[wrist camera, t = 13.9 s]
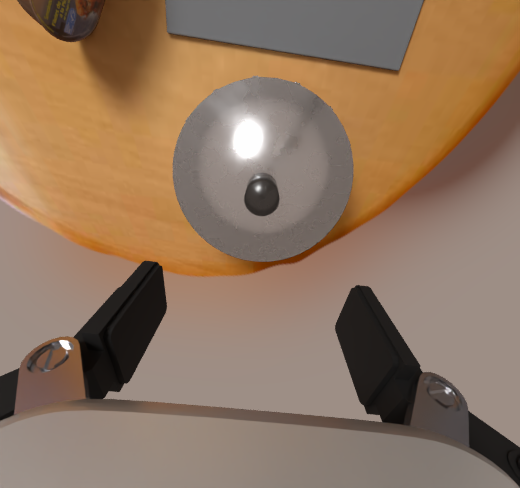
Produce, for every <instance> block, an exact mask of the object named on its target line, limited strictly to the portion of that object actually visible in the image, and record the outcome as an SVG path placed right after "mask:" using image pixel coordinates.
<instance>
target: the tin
mask: <svg viewBox="0 0 520 488" xmlns="http://www.w3.org/2000/svg"><path fill="white" fill-rule="evenodd" d="M17 1H18V2H19V4H20V5H21V6H22V7H23V9H24V10H25V11H26V12H27V13H28V14H29V15H30V16H31V17H32V18H33V19H35V20H36V21H37V22H38V23H39V24H40V25H42V26H43V27H44V28H45V30H47V31H48V32H49V33H50V34H51V35H52V36H54V37H55V38H57V39H59V40H62V41H66V42H76V41H80V40H82V39H84V38H86V37H87V36H89V35H90V34H91V32H92V31H93V30H94V29H95V27H96V25H97V23H98V20H99V18H100V14H101V11H102V8H103V5H104V1H105V0H17Z"/></svg>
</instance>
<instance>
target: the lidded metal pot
mask: <svg viewBox="0 0 520 488" xmlns="http://www.w3.org/2000/svg"><path fill="white" fill-rule="evenodd" d="M350 146H351V145H350V141H349V140H348V137H347V135H346V132H345V130H344V128H343V126H342V124H341V122H340V121H339V119H338V117H337V116H336V114H335V113H334V112H333V109H332V108H331V106H328V105H327V104H326V103H325V102H324V101H323V100H322V99H321V98H319V97H318V96H317V95H316V94H314V93H313V92H311V91H309V90H308V89H306V88H305V87H302V86H301V85H300V83H297V82H290V81H286V80H282V79H278V78H267V77H258V76H253V77H252V78H248V79H244V80H240V81H236V82H233V83H231V84H229V85H226V86H224V87H222V88H220V89H216V90H214V91H213V93H212V94H211V95H209V96H208V97H207V98H206V99H205V100H203V101H202V102H201V103H200V104H199V105H198V106H197V107H196V109H195V110H194V111H193V112H192V113H191V115H190V116H189V118H187V120H186V123H185V124H184V126H183V128H182V130H181V133H180V135H179V137H178V140H177V144H176V147H175V151H174V157H173V158H174V159H173V181H174V188H175V192H176V196H177V199H178V202H179V204H180V207H181V209H182V211H183V213H184V215H185V217H186V219H187V220H188V222H189V223H190V224H191V226H192V227H193V228H194V230H195V231H196V232H197V233H198V234H199V235H200V236H201V237H202V238H203V239H204V240H205V241H207V242H208V243H209V244H210V245H212V246H213V247H215V248H216V249H218V250H220V251H222V252H224V253H226V254H228V255H230V256H233V257H236V258H240V259H243V260H249V261H258V262H268V261H277V260H282V259H286V258H290V257H293V256H295V255H298V254H300V253H302V252H304V251H306V250H308V249H309V248H311V247H312V246H314V245H315V244H317V243H318V242H319V241H320V240H322V239H323V238H324V237H325V236H326V235H327V234H328V233H329V232H330V231H331V229H332V228H333V227H334V226H335V224H336V223H337V221H338V220H339V218H340V217H341V215H342V213H343V211H344V209H345V207H346V204H347V202H348V199H349V195H350V192H351V188H352V181H353V158H352V151H351V147H350Z"/></svg>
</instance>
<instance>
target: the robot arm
mask: <svg viewBox="0 0 520 488" xmlns="http://www.w3.org/2000/svg"><path fill="white" fill-rule="evenodd" d="M166 309H167V303H166V295H165V287H164V278H163V269H162V266H160V265H159V264H158V262H152V261H144V262H142V264H141V265H140V266H139V267H138V268H137V270H135V272H134V273H133V274H132V275H131V276H130V277H129V278H128V279H127V281H126V282H125V283H124V284H123V285H122V286H121V287H119V288H118V289H117V290H116V291H115V292H114V293H113V294H112V295H111V296H110V297H109V298H108V300H107V301H106V302H105V303H104V304H103V305H102V306H101V307H100V308H99V309H98V311H97V312H96V313H95V314H94V315H93V316H92V317H91V318H90V319H89V321H88V322H87V323H86V324H85V325H84V326H83V327H82V329H81V330H80V331H79V332H78V333H77V334H76V335H75V336H74V337H59V338H55V339H52V340H49V341H47V342H45V343H43V344H41V345H39V346H38V347H36V348H35V349H33V350H32V351H31V352H30V353H29V354H28V355H27V356H26V357H25V358H24V360H23V361H22V362H21V365H20V368H18V369H16V370H14V371H12V372H9V373H7V374H5V375H3V376H0V488H520V447H518V446H517V445H516V444H514V443H513V442H511V441H510V440H508V439H507V438H506V437H504V436H503V435H501V434H500V433H499V432H497V431H496V430H494V429H493V428H491V427H490V426H489V425H487V424H486V423H484V422H483V421H481V420H480V419H479V418H477V417H476V416H475V415H473V414H472V413H470V412H469V411H468V406H467V402H466V401H465V399H464V397H463V395H462V394H461V393H460V392H459V390H458V389H457V388H456V387H455V386H453V384H452V383H450V382H449V381H448V380H446V379H445V378H443V377H441V376H439V375H437V374H435V373H431V372H424V373H423V372H422V371H421V369H420V364H419V363H418V361H417V360H416V358H415V357H414V355H413V354H412V352H411V351H410V349H409V348H408V346H407V344H406V343H405V341H404V339H403V338H402V336H401V335H400V333H399V332H398V330H397V329H396V327H395V325H394V324H393V323H392V321H391V319H390V318H389V316H388V315H387V313H386V312H385V310H384V308H383V307H382V305H381V304H380V302H379V301H378V299H377V297H376V296H375V294H374V293H373V291H372V290H371V288H370V287H368V286H360V285H357V286H355V288H352V289H351V291H350V293H349V295H348V297H347V300H346V302H345V304H344V307H343V309H342V311H341V313H340V316H339V318H338V320H337V322H336V325H335V330H336V333H337V336H338V340H339V342H340V345H341V348H342V351H343V354H344V357H345V360H346V363H347V366H348V369H349V372H350V375H351V378H352V380H353V384H354V386H355V389H356V392H357V395H358V398H359V401H360V403H361V404H362V405H364V407H365V410H366V412H367V414H375V415H380V417H381V419H382V422H374V421H366V420H355V419H345V418H335V417H324V416H313V415H302V414H291V413H280V412H268V411H256V410H244V409H234V408H222V407H210V406H198V405H186V404H172V403H161V402H146V401H130V400H115V399H103V398H105V396H106V394H107V393H108V391H115V392H120V390H121V388H122V387H123V385H124V383H128V382H129V381H130V379H131V377H132V375H133V374H134V372H135V370H136V368H137V366H138V364H139V362H140V360H141V358H142V357H143V355H144V353H145V351H146V349H147V347H148V345H149V343H150V341H151V339H152V337H153V336H154V334H155V332H156V330H157V328H158V326H159V324H160V322H161V321H162V318H163V317H164V315H165V313H166Z"/></svg>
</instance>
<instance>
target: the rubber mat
mask: <svg viewBox="0 0 520 488" xmlns="http://www.w3.org/2000/svg"><path fill="white" fill-rule="evenodd" d="M165 3H166V19H167V32H168V33H170V34H176V35H182V36H188V37H194V38H200V39H206V40H212V41H218V42H224V43H231V44H237V45H243V46H249V47H255V48H261V49H267V50H273V51H279V52H285V53H292V54H298V55H304V56H310V57H316V58H322V59H328V60H334V61H340V62H346V63H352V64H359V65H365V66H371V67H377V68H383V69H389V70H395V71H398V70H399V69H400V66H401V63H402V60H403V57H404V54H405V52H406V49H407V46H408V43H409V40H410V37H411V35H412V32H413V29H414V26H415V23H416V20H417V17H418V15H419V12H420V9H421V6H422V3H423V0H165Z"/></svg>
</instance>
